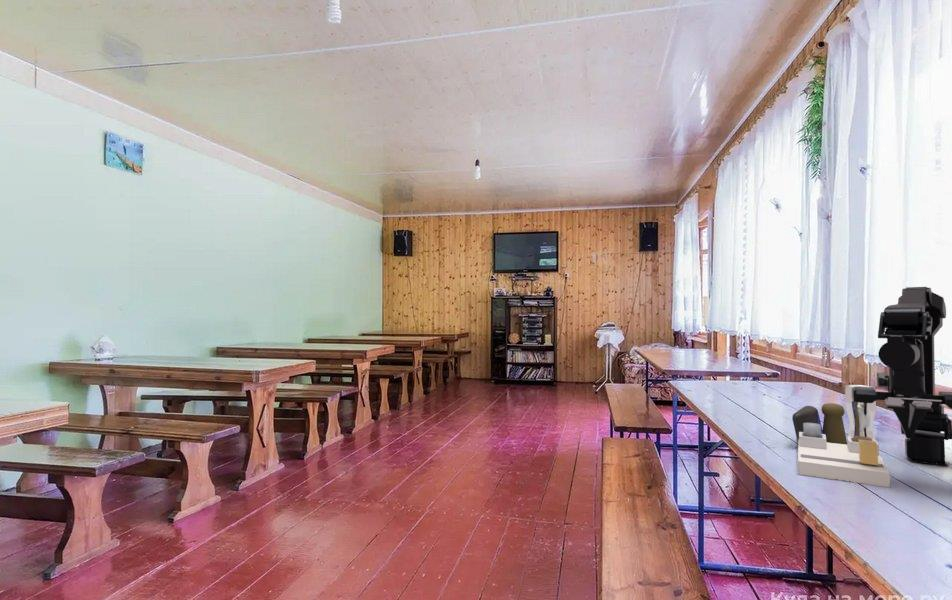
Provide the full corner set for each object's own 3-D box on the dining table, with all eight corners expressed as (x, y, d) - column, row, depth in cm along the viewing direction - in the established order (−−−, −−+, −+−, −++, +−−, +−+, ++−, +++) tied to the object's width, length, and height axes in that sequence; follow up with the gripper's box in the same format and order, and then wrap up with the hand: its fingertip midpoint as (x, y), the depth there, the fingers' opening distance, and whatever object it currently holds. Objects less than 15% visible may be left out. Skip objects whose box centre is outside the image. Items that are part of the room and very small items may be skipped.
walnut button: (871, 449, 118) (870, 437, 119) (873, 453, 115) (872, 440, 116) (852, 447, 120) (852, 435, 121) (854, 451, 117) (853, 438, 118)
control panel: (876, 460, 120) (875, 437, 121) (890, 487, 102) (889, 461, 102) (798, 450, 129) (798, 429, 129) (798, 474, 111) (797, 450, 111)
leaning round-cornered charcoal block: (818, 449, 127) (809, 413, 128) (798, 449, 130) (790, 414, 132) (830, 437, 139) (822, 404, 140) (811, 437, 142) (803, 405, 143)
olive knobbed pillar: (840, 447, 132) (838, 406, 132) (816, 442, 137) (814, 403, 137) (852, 444, 134) (850, 404, 135) (828, 439, 140) (826, 401, 140)
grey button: (820, 435, 124) (820, 423, 124) (821, 438, 121) (820, 426, 121) (803, 433, 126) (803, 422, 126) (803, 436, 123) (803, 424, 123)
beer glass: (879, 443, 135) (877, 388, 136) (847, 439, 139) (846, 387, 139) (875, 437, 141) (873, 385, 142) (845, 434, 145) (843, 383, 145)
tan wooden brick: (876, 461, 109) (875, 441, 109) (878, 465, 106) (877, 444, 106) (859, 458, 110) (858, 439, 110) (860, 463, 107) (859, 443, 107)
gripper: (955, 363, 106) (958, 435, 106) (848, 359, 117) (850, 425, 116) (970, 368, 97) (973, 447, 97) (852, 364, 107) (855, 435, 107)
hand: (908, 438), depth 104 cm, fingers closed
